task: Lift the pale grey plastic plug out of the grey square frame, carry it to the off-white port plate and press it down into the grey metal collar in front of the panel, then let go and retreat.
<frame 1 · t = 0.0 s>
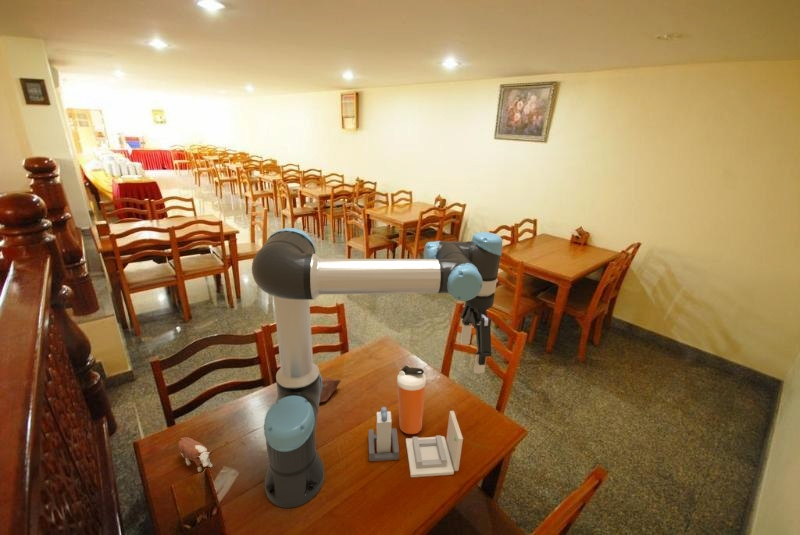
hand: (471, 357, 101), 28 cm above the table, fingers open, 13 cm apart
plug: (383, 447, 104), resting in grey square frame
bull figurine: (199, 466, 97), on the table
port: (428, 456, 102), on the table
decorative stone: (322, 397, 123), on the table
grey square frame: (383, 447, 104), on the table
cup: (410, 427, 111), on the table
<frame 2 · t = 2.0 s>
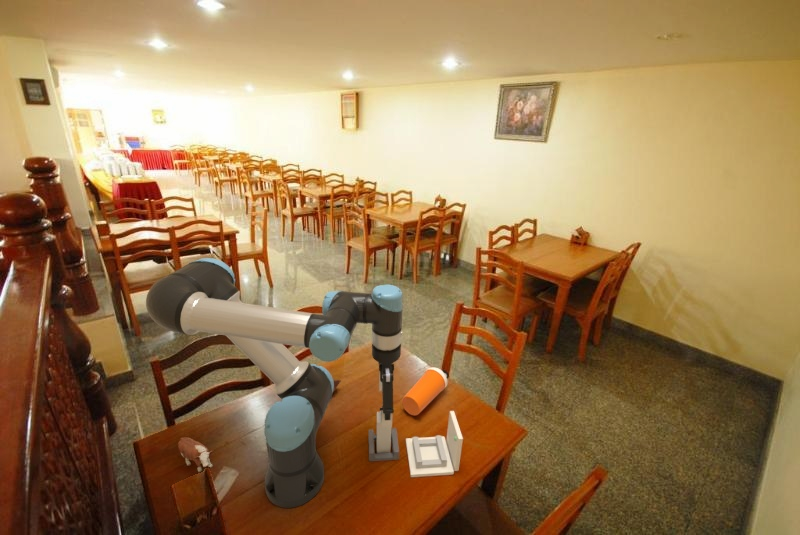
hand: (385, 407, 99), 16 cm above the table, fingers open, 13 cm apart
cup: (410, 406, 114), point 4 cm above the table
everything else where it was.
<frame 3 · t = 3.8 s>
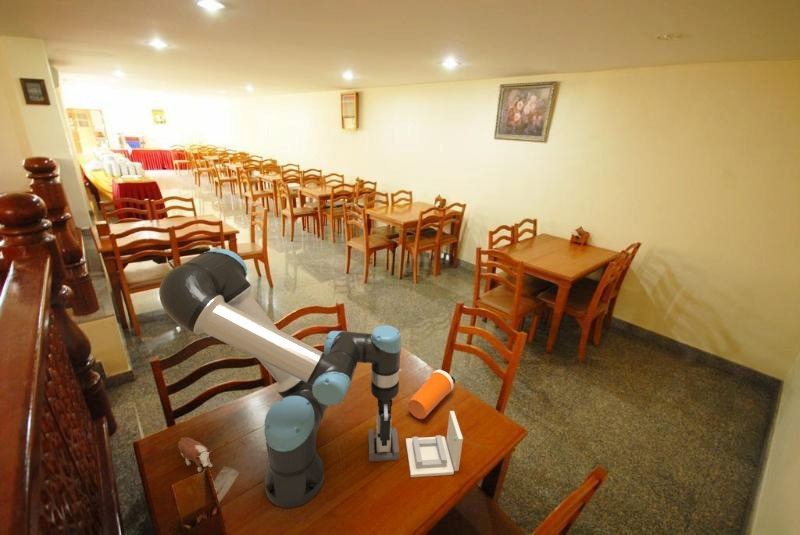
hand: (383, 443, 104), 2 cm above the table, fingers closed on plug, 4 cm apart
plug: (383, 447, 104), resting in grey square frame, touching gripper
cup: (416, 409, 113), point 4 cm above the table
everything else where it was.
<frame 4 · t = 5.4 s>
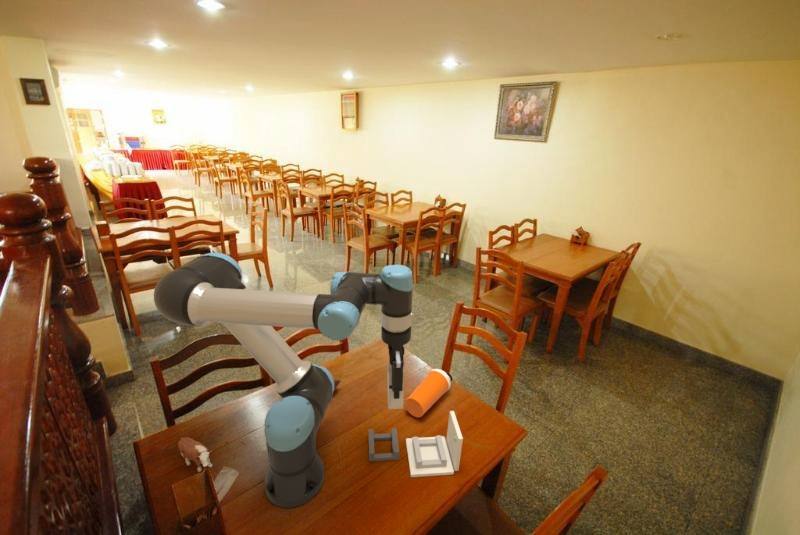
hand: (395, 398, 97), 19 cm above the table, fingers closed on plug, 4 cm apart
plug: (395, 403, 98), point 17 cm above the table, touching gripper
cup: (413, 408, 114), point 4 cm above the table
everything else where it was.
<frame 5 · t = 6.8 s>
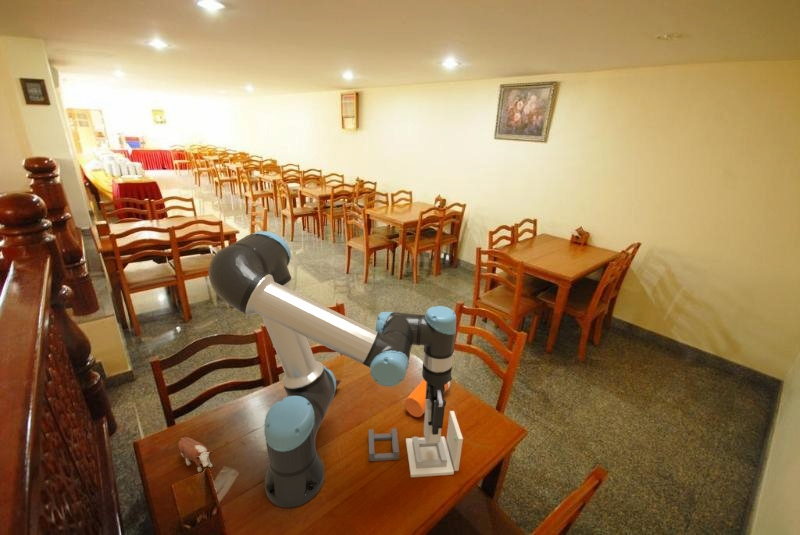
hand: (431, 432, 99), 9 cm above the table, fingers closed on plug, 4 cm apart
plug: (431, 437, 99), point 8 cm above the table, touching gripper
everything else where it was.
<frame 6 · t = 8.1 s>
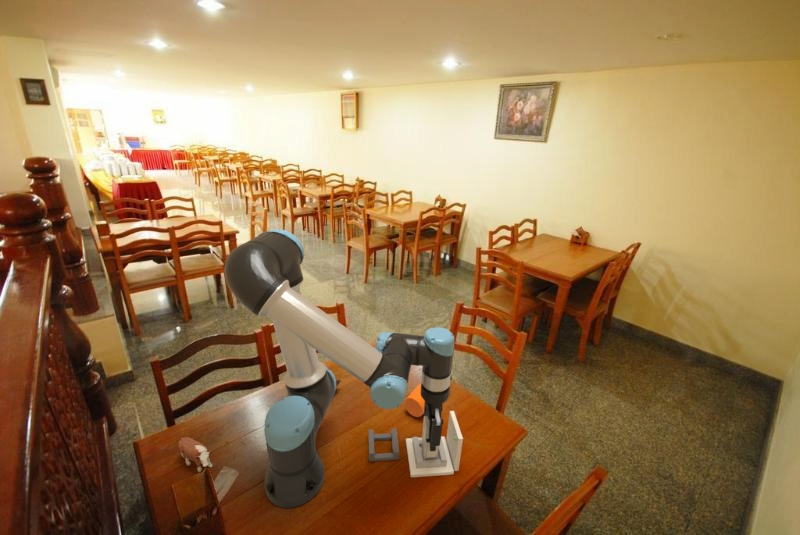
hand: (429, 448, 101), 3 cm above the table, fingers closed on plug, 4 cm apart
plug: (429, 453, 102), point 2 cm above the table, touching gripper
everything else where it was.
when the fingers open (3 cm above the table, at t = 8.3 s): plug stays where it is, resting on port.
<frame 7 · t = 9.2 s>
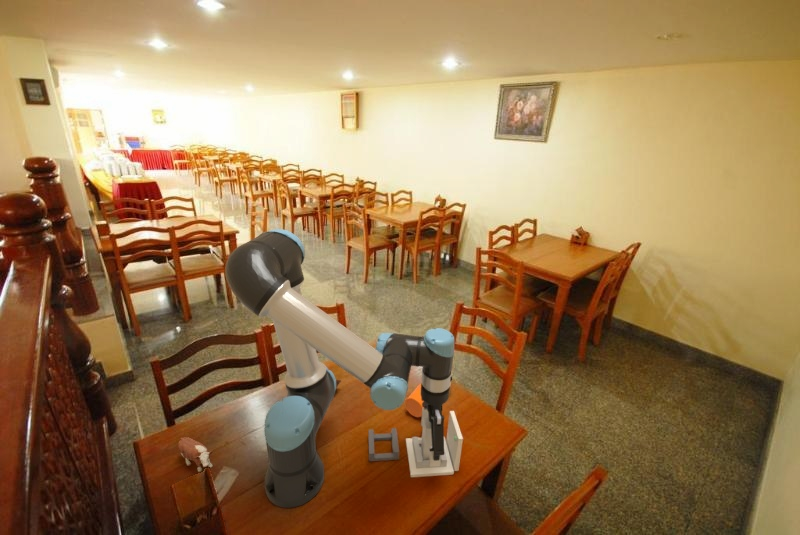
hand: (429, 444, 100), 5 cm above the table, fingers open, 13 cm apart
plug: (428, 454, 102), point 1 cm above the table, touching port
everything else where it was.
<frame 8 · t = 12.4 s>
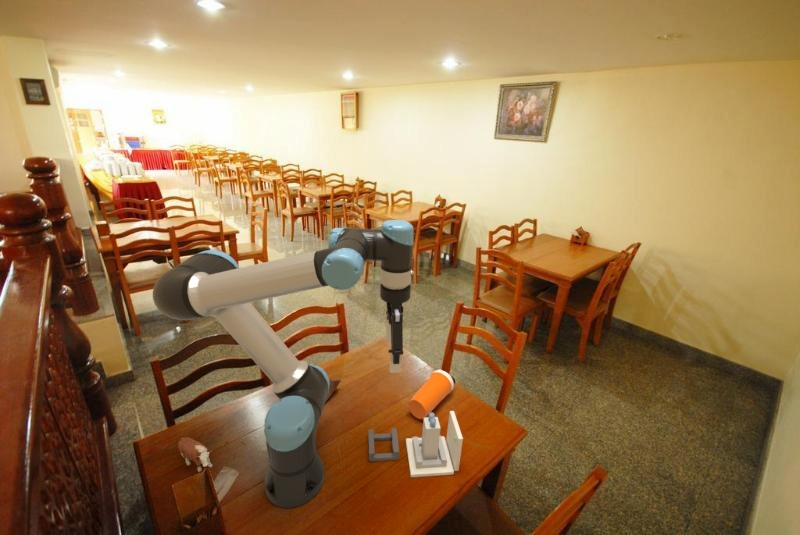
hand: (392, 355, 94), 32 cm above the table, fingers open, 13 cm apart
cup: (416, 410, 113), point 4 cm above the table
everything else where it was.
at the end: plug 0.0 cm off-centre on the port, point 1.0 cm above the port's base; plug tilted 0°; the gripper is holding nothing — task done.
